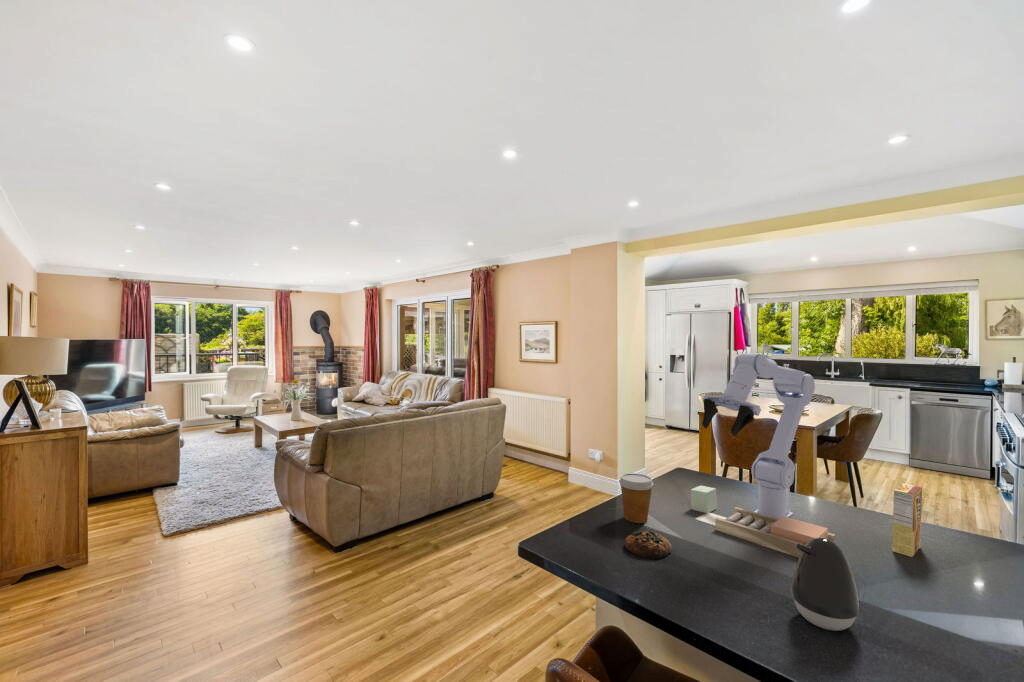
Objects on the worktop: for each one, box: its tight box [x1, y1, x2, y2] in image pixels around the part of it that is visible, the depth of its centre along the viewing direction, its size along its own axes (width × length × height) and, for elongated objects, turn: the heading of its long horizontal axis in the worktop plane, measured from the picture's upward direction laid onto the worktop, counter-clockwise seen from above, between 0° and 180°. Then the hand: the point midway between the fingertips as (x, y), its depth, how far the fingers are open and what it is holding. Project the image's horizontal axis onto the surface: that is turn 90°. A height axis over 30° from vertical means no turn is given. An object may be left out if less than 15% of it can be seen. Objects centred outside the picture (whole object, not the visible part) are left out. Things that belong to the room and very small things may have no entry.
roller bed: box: [694, 506, 836, 559], centre depth 120 cm, size 13×31×3 cm, turn 41°
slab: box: [771, 516, 829, 545], centre depth 113 cm, size 9×10×2 cm
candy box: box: [891, 482, 923, 558], centre depth 112 cm, size 9×4×15 cm, turn 129°
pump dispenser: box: [790, 538, 860, 631], centre depth 83 cm, size 10×10×15 cm
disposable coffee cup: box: [618, 472, 654, 524], centre depth 129 cm, size 10×10×12 cm
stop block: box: [690, 485, 718, 514], centre depth 137 cm, size 6×5×6 cm
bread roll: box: [624, 530, 673, 560], centre depth 111 cm, size 11×11×5 cm
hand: (718, 429), depth 118 cm, fingers open, 7 cm apart
